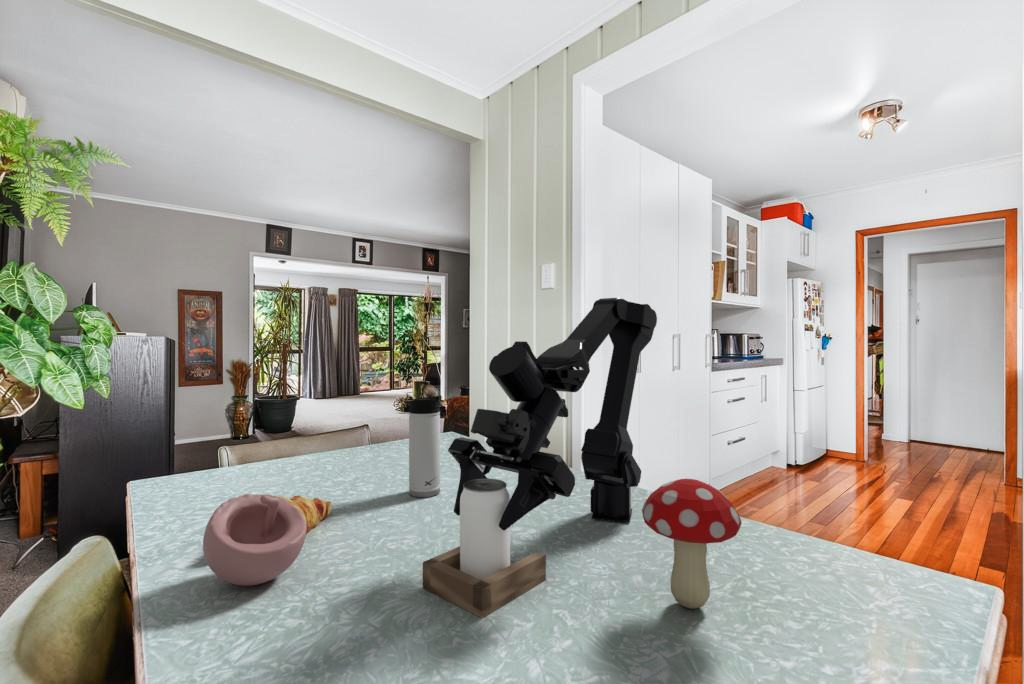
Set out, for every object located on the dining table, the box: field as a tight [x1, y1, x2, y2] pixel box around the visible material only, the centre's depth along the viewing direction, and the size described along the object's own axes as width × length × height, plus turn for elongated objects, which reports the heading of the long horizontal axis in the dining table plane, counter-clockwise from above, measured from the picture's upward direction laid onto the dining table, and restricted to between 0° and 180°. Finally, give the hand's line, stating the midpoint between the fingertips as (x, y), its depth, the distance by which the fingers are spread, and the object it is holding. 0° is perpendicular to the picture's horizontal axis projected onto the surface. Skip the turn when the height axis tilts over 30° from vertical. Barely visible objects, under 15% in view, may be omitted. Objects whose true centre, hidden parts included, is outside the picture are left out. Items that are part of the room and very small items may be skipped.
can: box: [459, 477, 511, 580], centre depth 65 cm, size 6×6×12 cm
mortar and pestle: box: [202, 493, 308, 587], centre depth 66 cm, size 12×12×12 cm
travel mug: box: [408, 395, 442, 498], centre depth 103 cm, size 6×7×20 cm
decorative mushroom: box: [641, 478, 743, 610], centre depth 59 cm, size 11×11×15 cm
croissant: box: [277, 495, 333, 534], centre depth 81 cm, size 21×10×8 cm, turn 155°
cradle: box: [422, 545, 547, 619], centre depth 65 cm, size 12×10×3 cm
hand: (477, 520), depth 64 cm, fingers open, 8 cm apart
